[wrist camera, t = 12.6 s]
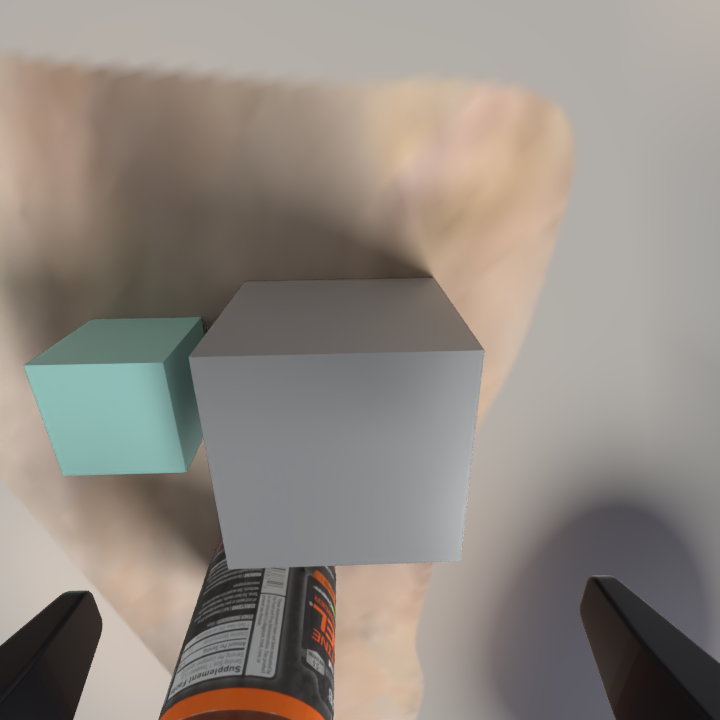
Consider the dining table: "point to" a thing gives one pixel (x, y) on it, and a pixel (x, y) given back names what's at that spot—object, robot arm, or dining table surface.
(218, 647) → the supplement bottle
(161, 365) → the cube
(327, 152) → the dining table surface
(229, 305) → the grey arch block
